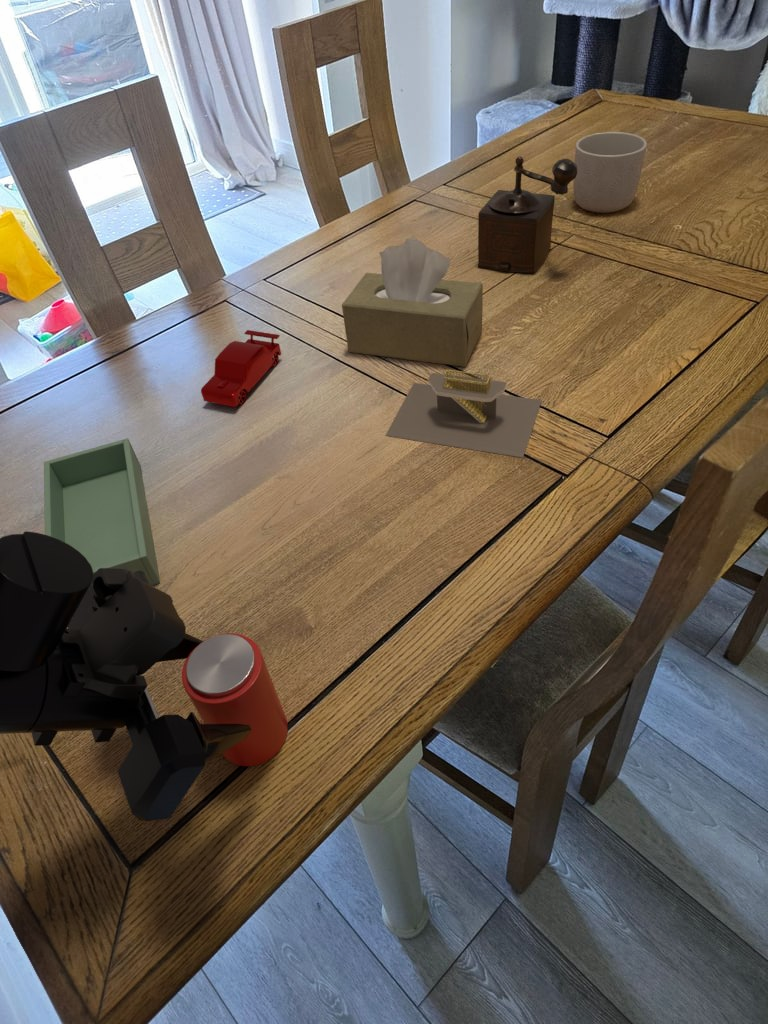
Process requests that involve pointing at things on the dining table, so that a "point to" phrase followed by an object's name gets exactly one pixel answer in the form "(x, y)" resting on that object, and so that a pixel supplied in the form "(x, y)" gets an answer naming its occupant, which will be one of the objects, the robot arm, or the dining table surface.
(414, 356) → the tissue box
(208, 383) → the toy car
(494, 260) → the manual coffee grinder
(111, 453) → the bin
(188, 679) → the can
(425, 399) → the platform
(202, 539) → the dining table surface
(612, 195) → the planter
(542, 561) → the dining table surface
